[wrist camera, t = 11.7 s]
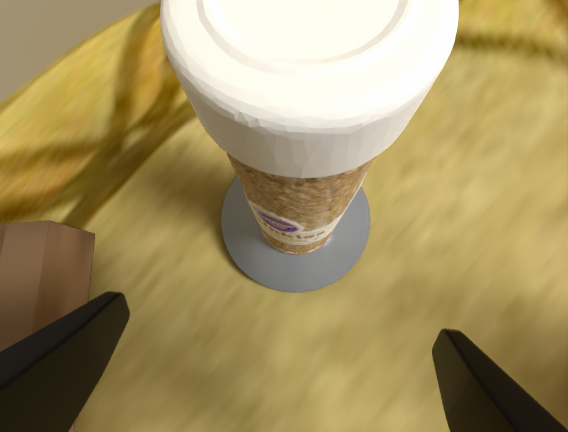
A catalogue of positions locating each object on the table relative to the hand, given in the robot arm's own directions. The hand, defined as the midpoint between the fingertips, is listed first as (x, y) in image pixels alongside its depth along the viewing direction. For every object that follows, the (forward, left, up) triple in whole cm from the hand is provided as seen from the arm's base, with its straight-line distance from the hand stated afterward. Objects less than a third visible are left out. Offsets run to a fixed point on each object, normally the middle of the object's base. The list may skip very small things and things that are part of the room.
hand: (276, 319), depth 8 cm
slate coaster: (+5, -1, -9) cm, 10 cm away
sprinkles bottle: (+5, -1, -8) cm, 10 cm away
